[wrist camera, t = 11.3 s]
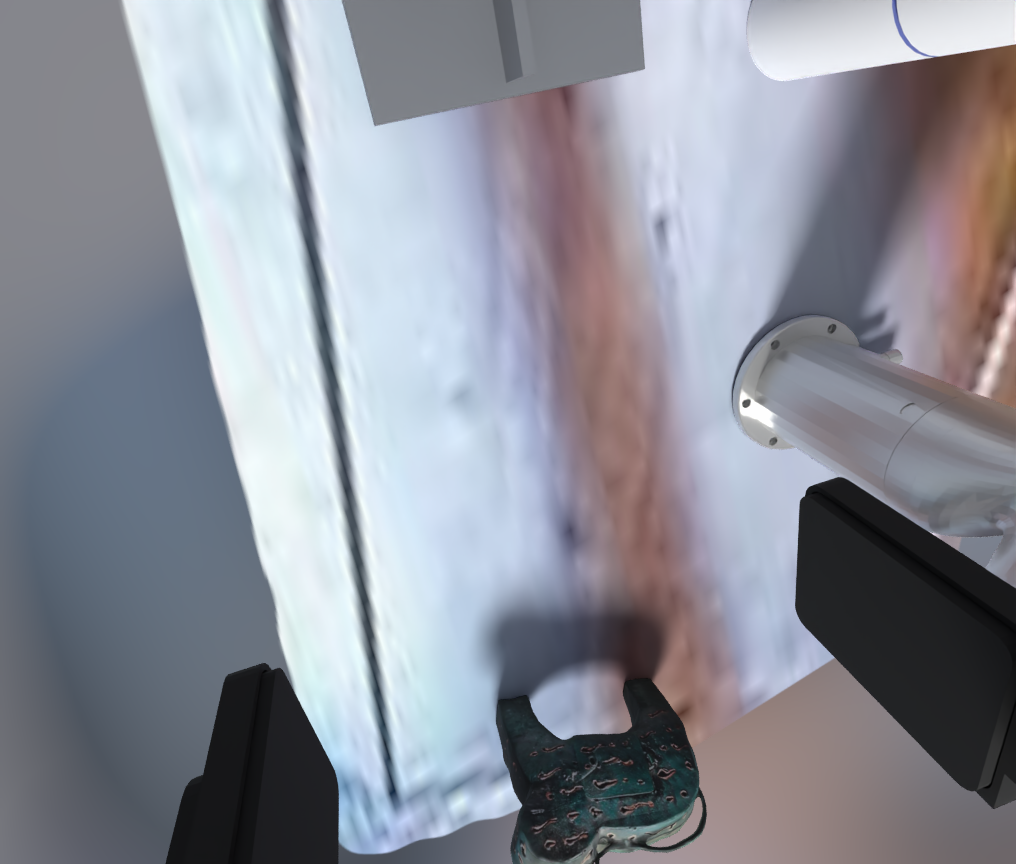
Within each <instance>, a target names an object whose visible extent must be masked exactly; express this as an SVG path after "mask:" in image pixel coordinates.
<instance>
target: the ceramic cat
mask: <svg viewBox="0 0 1016 864" xmlns="http://www.w3.org/2000/svg"><path fill="white" fill-rule="evenodd" d="M623 697H624V700H625V703H626V705H627V708H628V711H629V714H630V717H631V722H632V727H631V728H630V729H629V730H628V731H627V732H625V733H620V734H588V735H575V736H573V737H572V738H570V739H567V740H561V739H559V738H558V737H556V736H555V735H553V734H552V733H551V732H550V731H549V730H547V729H546V728H545V727H544V726H543V725H542V724H541V723H540V722H539V721H538V719H537V717H536V716H535V714H534V713H533V710H532V708H531V704H530V701H529V698H528V697H527V695H526V696H521V697H518V698H515V699H508V700H499V702H498V707H497V720H496V725H497V728H498V732H499V736H500V740H501V744H502V749H503V758H504V762H505V764H506V766H507V768H508V769H509V772H510V777H511V781H512V785H513V789H514V792H515V794H516V795H517V797H518V799H519V801H520V802H521V803H522V807H521V809H520V811H519V814H518V818H517V823H516V827H515V830H514V834H513V838H512V842H511V857H512V862H513V864H594V862H595V864H599V860H600V858H601V857H602V856H603V855H604V854H605V853H607V852H609V851H610V852H619V853H627V852H628V853H629V852H634V851H637V850H645V851H650V852H666V853H667V852H672V851H674V850H677V849H679V848H682V847H685V846H686V845H688V844H690V843H691V842H693V841H694V840H695V839H697V838H698V837H699V836H700V835H701V834H702V831H703V829H704V827H705V823H706V816H707V813H706V803H705V799H704V796H703V794H702V791H701V790H700V788H699V771H698V767H697V763H696V759H695V755H694V752H693V749H692V747H691V745H690V743H689V741H688V738H687V735H686V731H685V728H684V725H683V723H682V721H681V720H680V718H679V717H678V715H677V714H676V713H675V711H674V710H673V709H672V707H671V706H670V704H669V703H668V701H667V700H666V699H665V697H664V696H663V695H662V693H661V692H660V691H659V690H658V688H657V687H656V685H655V684H654V683H653V682H652V681H651V679H648V678H644V679H634V680H630V681H627V682H625V686H624V691H623ZM697 797H700V798H701V801H702V807H703V812H702V817H701V820H700V823H699V826H698V828H697V830H696V831H695V832H694V834H692V835H691V836H689V837H688V838H686V839H684V840H682V841H680V842H679V843H677V844H675V845H672V846H669V847H651V846H649V845H651V844H653V843H655V842H657V841H659V840H660V839H664V838H667V837H670V836H671V835H673V834H675V833H677V832H678V831H679V830H680V829H681V827H682V826H683V825H684V824H685V822H686V821H687V820H688V818H689V817H690V815H691V813H692V810H693V806H694V802H695V799H696V798H697ZM598 852H600V853H598Z"/></svg>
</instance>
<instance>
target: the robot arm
mask: <svg viewBox="0 0 1016 864" xmlns="http://www.w3.org/2000/svg"><path fill="white" fill-rule="evenodd" d="M902 360H903V357H902V354H901V352H900V351H899V350H897V349H893V350H890V351H886V352H883V353H881V354H877V353H874V352H872V351H869V350H866V349H864V348H861V347H860V344H859V342H858V340H857V338H856V336H855V334H854V333H853V332H852V331H851V330H850V329H849V328H848V327H847V326H846V325H844V324H843V323H841V322H839V321H838V320H835V319H832V318H829V317H826V316H819V315H807V316H801V317H797V318H794V319H791V320H789V321H787V322H784V323H782V324H780V325H779V326H777V327H776V328H774V329H773V330H771V331H770V332H769V333H767V334H766V335H765V336H764V337H763V338H762V339H761V340H760V341H759V342H758V343H757V344H756V345H755V346H754V348H753V349H752V350H751V351H750V353H749V354H748V355H747V357H746V359H745V361H744V362H743V364H742V366H741V368H740V370H739V373H738V376H737V378H736V381H735V386H734V391H733V410H734V416H735V418H736V421H737V423H738V426H739V427H740V429H741V430H742V431H743V433H744V434H745V435H746V436H748V437H749V438H750V439H751V440H753V441H754V442H756V443H758V444H759V445H761V446H763V447H766V448H769V449H778V450H784V449H792V448H797V449H798V450H800V451H801V452H803V453H804V454H806V455H807V456H809V457H811V458H812V459H814V460H815V461H817V462H818V463H820V464H821V465H823V466H824V467H826V468H827V469H829V470H830V471H832V472H834V473H835V474H837V475H838V476H840V477H837V478H834V479H831V480H828V481H825V482H822V483H819V484H816V485H813V486H810V487H809V488H808V489H807V490H806V494H805V497H803V498H802V499H801V500H800V509H799V532H798V554H797V577H796V599H795V608H796V612H797V615H798V617H799V619H800V621H801V622H802V624H803V625H804V626H805V627H806V628H807V629H808V630H809V631H810V632H811V633H812V634H813V636H814V637H815V638H816V639H817V640H818V641H819V642H820V643H821V644H822V645H823V646H824V647H825V648H826V649H827V650H828V651H829V652H830V653H831V654H832V655H833V656H834V657H835V658H836V659H837V660H838V661H839V662H840V663H841V664H842V665H843V666H844V667H845V668H846V669H847V670H848V671H849V672H850V673H851V674H852V676H854V678H855V679H856V680H857V681H858V682H859V683H860V684H861V685H862V686H863V687H864V688H865V689H866V690H867V691H868V692H869V693H870V694H871V695H872V696H873V697H874V698H875V699H876V700H877V701H878V702H879V703H880V704H881V705H882V706H883V707H884V708H885V709H886V710H887V711H888V713H889V714H890V715H892V716H893V718H894V719H895V720H896V721H897V722H898V723H899V724H900V725H901V726H902V727H903V728H904V729H905V730H906V731H907V732H908V733H909V734H910V735H911V736H912V737H913V738H914V739H915V740H916V741H917V742H918V743H919V744H920V745H921V746H922V747H923V748H924V749H925V750H926V751H927V753H928V754H929V755H930V756H931V757H932V758H933V759H934V760H935V761H936V762H937V763H938V764H939V765H940V766H941V767H942V768H943V769H944V770H945V771H946V772H947V773H948V774H949V775H950V776H951V777H952V778H953V779H954V780H955V781H956V782H957V783H958V784H959V785H960V786H962V787H963V788H965V789H967V790H969V791H976V792H977V793H978V794H979V795H980V796H981V797H982V798H983V799H984V800H985V801H986V802H987V803H988V804H989V805H990V806H991V807H992V808H993V809H995V808H998V807H1000V806H1002V805H1005V804H1007V803H1009V802H1012V801H1014V800H1016V408H1013V407H1010V406H1008V405H1005V404H1002V403H1000V402H997V401H994V400H992V399H989V398H986V397H984V396H980V395H978V394H975V393H972V392H970V391H967V390H964V389H962V388H959V387H957V386H954V385H951V384H949V383H946V382H944V381H941V380H938V379H936V378H933V377H930V376H928V375H925V374H923V373H920V372H917V371H915V370H912V369H910V368H907V367H904V366H902V365H899V364H900V363H901V362H902ZM928 531H929V532H928ZM930 532H932V533H936V534H940V535H945V536H952V537H988V536H989V537H990V536H1001V535H1003V538H1002V541H1001V543H1000V544H999V546H998V548H997V549H996V551H995V552H994V554H993V556H992V557H991V560H990V562H989V563H988V565H987V566H986V568H983V567H982V566H981V565H979V564H977V563H976V562H974V561H973V560H971V559H970V558H968V557H967V556H965V555H964V554H962V553H960V552H959V551H957V550H956V549H954V548H953V547H951V546H950V545H948V544H947V543H945V542H944V541H942V540H940V539H939V538H937V537H936V536H934V535H933V534H931V533H930ZM338 824H339V791H338V782H337V777H336V773H335V770H334V768H333V766H332V764H331V762H330V760H329V758H328V756H327V754H326V752H325V751H324V749H323V747H322V745H321V743H320V741H319V739H318V737H317V735H316V733H315V731H314V729H313V727H312V725H311V723H310V722H309V720H308V718H307V716H306V714H305V712H304V710H303V708H302V706H301V704H300V702H299V700H298V698H297V696H296V694H295V693H294V691H293V689H292V687H291V685H290V683H289V681H288V679H287V677H286V675H285V673H284V672H283V670H282V669H281V668H277V669H274V670H271V668H270V667H269V665H267V664H266V663H262V664H259V665H256V666H253V667H250V668H247V669H244V670H240V671H237V672H234V673H232V674H228V676H227V677H226V678H225V681H224V684H223V688H222V693H221V697H220V702H219V706H218V711H217V715H216V720H215V724H214V729H213V733H212V738H211V742H210V746H209V751H208V755H207V760H206V765H205V769H204V774H203V775H201V776H199V777H196V778H194V779H192V780H191V781H190V782H189V783H188V785H187V786H186V788H185V791H184V794H183V796H182V800H181V804H180V807H179V812H178V815H177V820H176V824H175V827H174V832H173V836H172V840H171V844H170V848H169V852H168V856H167V860H166V864H338Z"/></svg>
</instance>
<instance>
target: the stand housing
mask: <svg viewBox="0 0 1016 864" xmlns="http://www.w3.org/2000/svg"><path fill="white" fill-rule="evenodd" d="M342 3H343V6H344V10H345V14H346V18H347V22H348V26H349V29H350V33H351V37H352V41H353V45H354V49H355V53H356V56H357V60H358V64H359V68H360V72H361V76H362V79H363V83H364V87H365V91H366V95H367V99H368V103H369V106H370V110H371V114H372V118H373V122H374V126H377V125H382V124H387V123H391V122H396V121H401V120H406V119H411V118H415V117H420V116H425V115H430V114H435V113H439V112H444V111H449V110H454V109H459V108H463V107H468V106H473V105H478V104H482V103H487V102H492V101H497V100H502V99H506V98H511V97H516V96H521V95H526V94H530V93H535V92H540V91H545V90H550V89H554V88H559V87H564V86H569V85H573V84H578V83H583V82H588V81H593V80H597V79H602V78H607V77H612V76H617V75H621V74H626V73H631V72H636V71H639V70H643V69H645V64H644V50H643V36H642V22H641V8H640V0H342Z"/></svg>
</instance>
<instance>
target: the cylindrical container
mask: <svg viewBox="0 0 1016 864" xmlns="http://www.w3.org/2000/svg"><path fill="white" fill-rule="evenodd" d="M747 42H748V48H749V51H750V55H751V57H752V59H753V61H754V63H755V65H756V66H757V67H758V68H759V70H760V71H761V72H762V73H763V74H765V75H766V76H768V77H769V78H772V79H774V80H778V81H789V80H795V79H801V78H807V77H814V76H820V75H826V74H832V73H839V72H845V71H851V70H857V69H864V68H870V67H876V66H882V65H889V64H895V63H901V62H908V61H914V60H920V59H926V58H933V57H939V56H945V55H951V54H958V53H964V52H970V51H976V50H983V49H989V48H995V47H1001V46H1008V45H1014V44H1016V0H752V3H751V6H750V10H749V14H748V20H747Z"/></svg>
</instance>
